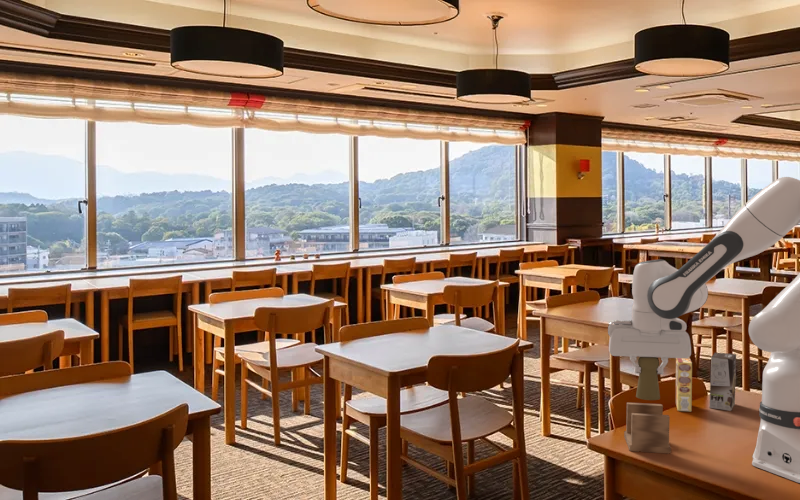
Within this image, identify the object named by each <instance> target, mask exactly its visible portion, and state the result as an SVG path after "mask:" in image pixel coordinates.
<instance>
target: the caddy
mask: <svg viewBox="0 0 800 500" xmlns="http://www.w3.org/2000/svg"><path fill="white" fill-rule="evenodd" d="M663 408H664V406H663V404H661V403H642V402H626V421H625V422H626V424H625V425H626V426H625V427H626V428H625V431H623V436H624V437H623V438H624V440H625V442H626V445H627V447H628V450H629V452H639V451H641V452H642V453H643V452H644V453H654V454H655V453H656V454H669V453H672V447H671V445H670V415H669V414H663V413H664V412H663V410H664V409H663ZM641 452H640V453H641Z"/></svg>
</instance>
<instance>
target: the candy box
mask: <svg viewBox="0 0 800 500" xmlns="http://www.w3.org/2000/svg"><path fill="white" fill-rule="evenodd" d="M692 384H693V362H692V360H691V358H690V357H689V358H675V405H676V408H677V409H676V410H677V411H678V412H689V413H691V412H692V408H693V407H692V401H693V399H692V398H693V396H692V391H693V390H692V389H693V385H692Z"/></svg>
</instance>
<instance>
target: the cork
mask: <svg viewBox="0 0 800 500" xmlns="http://www.w3.org/2000/svg"><path fill="white" fill-rule="evenodd" d="M637 364H638V365H637V366H639V367H641V370H640V371H641V373H638V380H637V387H636V394H635V397H636V398H637V399H640V400H644V401H657V400H661V393H660V385H659V379H658V374H657V368H658V366H660V360H659V357H638V359H637Z"/></svg>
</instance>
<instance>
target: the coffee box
mask: <svg viewBox="0 0 800 500" xmlns="http://www.w3.org/2000/svg"><path fill="white" fill-rule="evenodd" d="M710 358H711V359H710V378H709V379H710V386H709V408H711V409H715V410H724V411H729V412H731V411H733V408H734V406H735V403H736V375H737V374H736V371H737V370H736V369H737V367H736V366H737V354H736V353H724V352H714V353H713V355H712V356H711V357H710Z"/></svg>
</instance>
